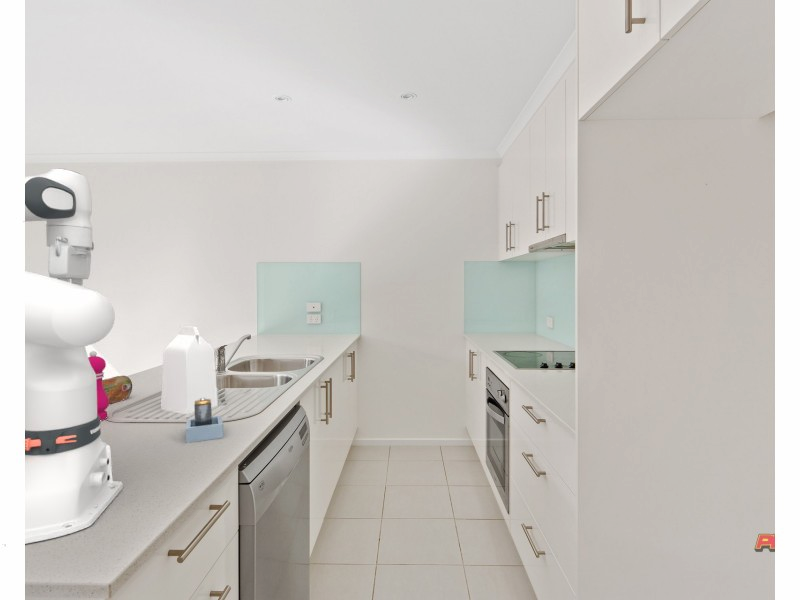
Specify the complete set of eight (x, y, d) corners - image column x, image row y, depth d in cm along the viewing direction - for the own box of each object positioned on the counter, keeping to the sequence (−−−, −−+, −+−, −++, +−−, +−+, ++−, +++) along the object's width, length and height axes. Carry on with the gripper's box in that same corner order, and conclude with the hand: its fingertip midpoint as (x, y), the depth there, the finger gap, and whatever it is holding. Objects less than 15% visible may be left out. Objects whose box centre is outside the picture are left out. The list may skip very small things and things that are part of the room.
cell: (211, 432, 114) (210, 399, 114) (194, 434, 112) (193, 400, 112) (212, 428, 118) (211, 395, 118) (195, 430, 116) (194, 397, 116)
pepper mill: (94, 424, 125) (92, 353, 124) (72, 422, 126) (71, 352, 125) (115, 416, 132) (114, 349, 131) (94, 415, 133) (93, 348, 132)
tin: (94, 409, 140) (93, 382, 139) (86, 408, 140) (85, 382, 140) (133, 397, 154) (133, 373, 154) (125, 397, 155) (125, 373, 155)
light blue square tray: (222, 437, 113) (222, 424, 113) (185, 442, 110) (185, 428, 110) (221, 428, 121) (221, 415, 121) (186, 432, 117) (186, 419, 117)
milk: (160, 409, 139) (159, 327, 138) (192, 401, 150) (191, 324, 149) (187, 414, 134) (185, 328, 133) (217, 405, 144) (216, 325, 144)
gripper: (74, 236, 98) (75, 298, 98) (95, 244, 117) (96, 296, 117) (38, 234, 95) (39, 299, 96) (66, 243, 114) (67, 297, 114)
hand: (70, 297), depth 106 cm, fingers open, 8 cm apart
